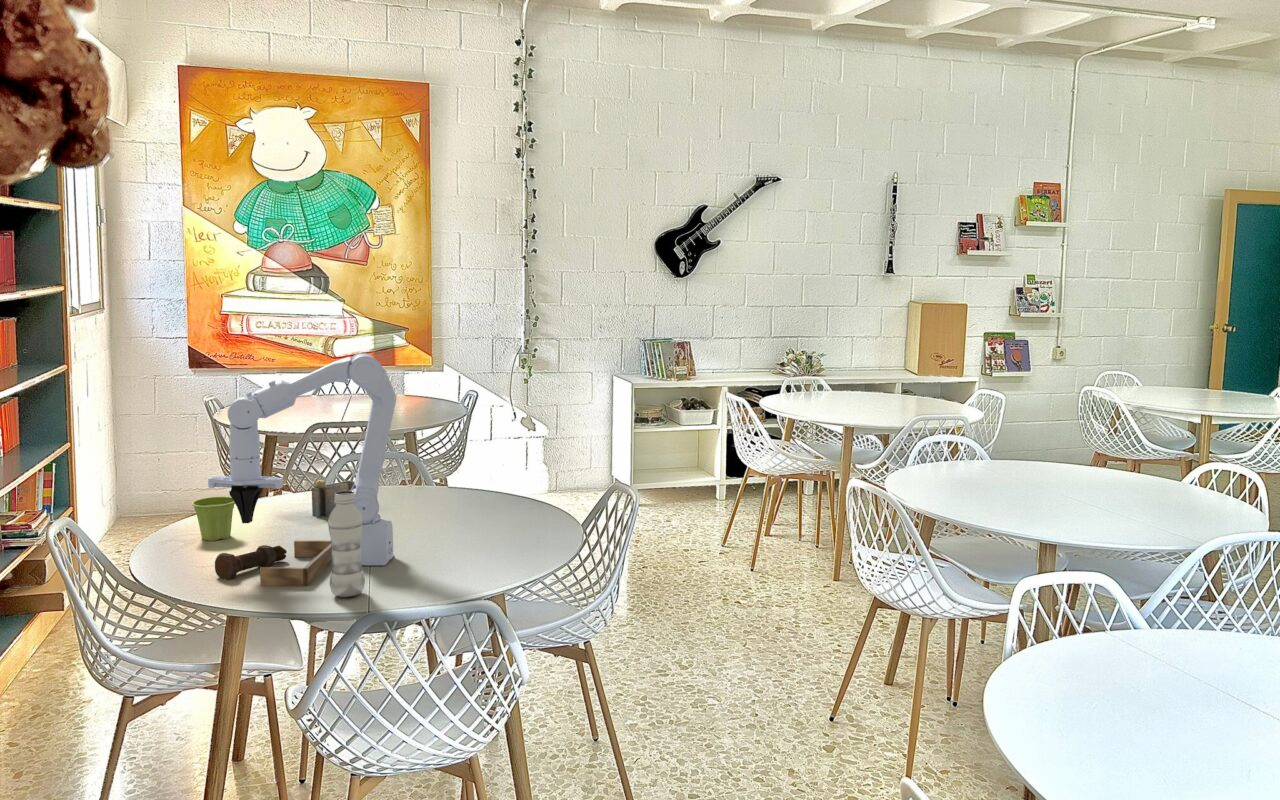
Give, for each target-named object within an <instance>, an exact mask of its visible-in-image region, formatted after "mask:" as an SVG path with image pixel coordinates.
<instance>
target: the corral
mask: <svg viewBox="0 0 1280 800" xmlns="http://www.w3.org/2000/svg"><path fill="white" fill-rule="evenodd" d="M293 549H294V552H293V553H294V558H313V559H312V560H311V561H310V562H308V563H307V564H306V565H305V566H304V567H303V566H301V567H300V566H299V567H298V566H297V567H296V566H295V567H294V566H291V567H290V566H287V567H286V566H272V567H260V568H259V574H260V575H259V576H260V577H259V580H260V582H259V583H260V586H261V587H262V586H263V587H264V586H269V587H270V586H271V587H272V586H273V587H274V586H276V587H281V586H282V587H297V586H298V587H299V586H300V587H308V586H310V584H311V583H312V582H313V581H314V580H315V579H316V578H318V576H320V575H321V573H323V572H324V571H325V570H326V569H327V568H328V567H329V566H330V565H332V548H331V539H329V540H327V539H326V540H325V539H322V540H318V539H315V540H313V539H312V540H311V539H310V540H309V539H308V540H306V539H304V540H303V539H302V540H301V539H300V540H298V539H295V540H294V541H293Z"/></svg>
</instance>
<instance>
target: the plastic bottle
mask: <svg viewBox="0 0 1280 800" xmlns="http://www.w3.org/2000/svg"><path fill="white" fill-rule="evenodd" d="M354 502H355V495H354V491H339V492H336V493H335V500H334V503H335V504H336V506H335V508H334V509H333V510H332V512H331V514H330V515H328V520H327V526H328V531H329V537H330V540H331V548H332V563H331V572H330V577H329V586H330V587H329V588H330V591H331V593H332V594H333V595H334V596H335V597H339V598H348V597H349V598H350V597H354V596H358V595H360V594H361V593H362V592H363V590H364V589H365V584H366V579H365V573H364V570H363V565H362V561H361V548H360V546H361V532H362V523H363V518H362V515H361V513H360V512H359V510H358V509H357V508H356V507H355V505H354Z"/></svg>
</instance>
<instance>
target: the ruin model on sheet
mask: <svg viewBox="0 0 1280 800" xmlns="http://www.w3.org/2000/svg"><path fill="white" fill-rule="evenodd" d="M326 481H327V479H324V480H322V481H321V480H319V481H317V482H316V483H314V484H313V483H312V487H311V506H312V507H311V509H312V513H311V514H312V516H313V517H315V516H316V517H317V518H320V516H321V515H323V514H325V516H330V514H331V512H332V510H333V509H334V508H335V506H336V504H335V503H334V500H335V493H336V492H339V491H350V490H351V488H352V487H353V485H354V482H355V480H345V481H340V482H333V483H329V484H326Z"/></svg>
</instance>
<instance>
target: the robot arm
mask: <svg viewBox="0 0 1280 800" xmlns="http://www.w3.org/2000/svg"><path fill="white" fill-rule="evenodd" d="M349 379H351V380H352V382H353V383H354V384H356V385H357V386H358V387H360V388H361V389H363V390H364V391H365V392H366V394H367V395H368V397H369V398H370V399H371V400H372V401H371V402H372V403H371V407H370V412H369V418H368V421H367V426H366V431H365V436H364V441H363V446H362V451H361V454H360V459H359V464H358V469H357V474H356V476H355V478H354V485H353V487H352V488H351V490H350V491H354V495H355V502H354V505H355V507H356V508H357V509H358V510H359V512H360V513H361V515H362V518H363V523H362V532H361V546H360V548H361V561H362V566H387V564H388V563H389V562H390V560H391V559H392V558H393V557H394V556H395V553H394V531H393V529H394V528H393V523H392V521H391V520H389V519H388V520H387V519H382V518H381V515H380V514H379V512H380V503H379V500H378V494H379V487H380V477H381V472H382V467H383V463H384V458H385V455H386V454H385V453H386V448H387V444H388V439H389V435H390V432H391V431H390V430H391V425H392V422H393V416H394V412H395V406H396V402H397V395H396V392H395V389H394V387H393V384H392V383H391V380H390V378H389V376H388V373H387V371H386V369H385V368H384V367H383V365H382V364H381V363H380V362H379V361H378V360H377V359H376V358H375V356H373V355H371V354H370V353H368V352H359V353H356V354H354V355H353V356H351V357H350V356H347V357H344V358H341V359H338V360H335V361H333V362H330V363H328V364H326V365H325V366H322V367H320V368H318V369H316V370H314V371H311V372H310V373H308V374H306V375H304V376H302V377H299V378H297V379H296V380H294V381H291V382H289V381H285V380H281V379H280V380H278V381H276V379H273V380H270V381H269V382H268V385H267V386H264V387H262V388H261V389H258V390H255V391H254V392H252V391H251V390H249V392H246V393H245V395H246V397H244V396H242V397H238V398H236V399H235V400H233V401H232V402H231V403H230V406H229V407H228V409H227V418H228V419H227V420H228V421H229V427H228V430H229V432H230V434H228V435H229V436H228V440H229V443H228V444H229V445H228V446H229V465H230V471H229V473H230V475H226V476H225V475H224V476H210V477H209V478H208V479H207V483H208V488H209V489H210V488H211V489H213V488H231V489H230V491H229V492H228V493H229V497H232V499H233V500H234V502H235V504H234V505H235V506H236V508H237V510H238V513H239V516H240V519H241V523H242V524H250V523H252V522H253V519H254V512H255V509H256V505H257V503H258V500H259V499H260V496H261V494H262V492H263V488H265V489H275V490H276V489H277V490H278V489H279V490H281V489H282V488H284V477H275V476H267V475H266V476H265V475H262V472H261V450H260V449H261V446H260V445H261V444H260V441H261V440H260V434H259V430H258V429H259V428H258V427H259V426H258V424H259V423H258V421H259V419H267V418H269V417H271V416H274V415H275V414H277V413H280V412H282V411H285V410H287V409H288V408H291V407H293V406H294V405H295V404H296V401H297V397H300V396H302V395H304V394H307V393H309V392H312V391H315V390H316V389H319V388H321V387H324V386H325V385H328V384H330V383H333V382H335V383H344V384H349V382H350V381H349Z"/></svg>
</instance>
